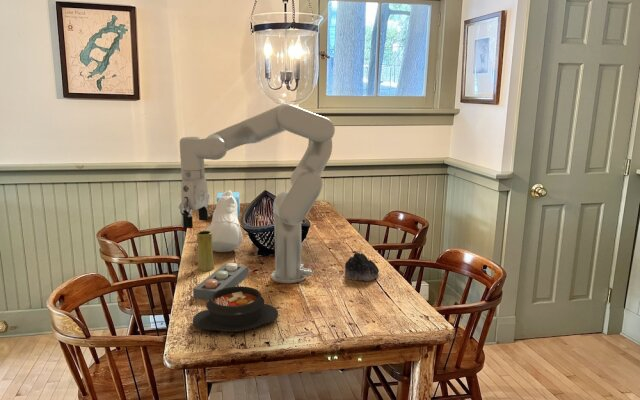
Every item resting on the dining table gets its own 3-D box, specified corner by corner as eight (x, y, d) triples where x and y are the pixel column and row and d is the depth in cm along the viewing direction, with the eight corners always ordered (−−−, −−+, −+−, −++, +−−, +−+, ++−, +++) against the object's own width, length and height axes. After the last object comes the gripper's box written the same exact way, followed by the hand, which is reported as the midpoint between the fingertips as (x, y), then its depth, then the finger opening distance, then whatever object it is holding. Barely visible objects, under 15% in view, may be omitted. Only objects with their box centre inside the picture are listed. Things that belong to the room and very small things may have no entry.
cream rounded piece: (239, 270, 184) (239, 263, 183) (234, 274, 180) (234, 267, 179) (229, 269, 185) (228, 262, 184) (224, 273, 181) (224, 266, 180)
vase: (210, 272, 189) (208, 235, 185) (195, 270, 190) (193, 234, 186) (216, 266, 194) (215, 230, 191) (202, 265, 196) (200, 229, 192)
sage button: (229, 278, 176) (229, 271, 176) (224, 282, 173) (224, 275, 172) (219, 277, 177) (219, 270, 177) (214, 281, 174) (213, 274, 173)
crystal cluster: (371, 269, 194) (368, 244, 193) (386, 278, 182) (384, 252, 180) (338, 275, 191) (336, 250, 189) (352, 286, 178) (349, 259, 176)
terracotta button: (219, 287, 169) (219, 279, 168) (214, 291, 165) (213, 284, 164) (208, 285, 170) (208, 278, 169) (203, 290, 166) (202, 283, 165)
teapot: (219, 212, 273) (218, 187, 270) (240, 212, 275) (239, 187, 272) (217, 223, 252) (215, 196, 249) (239, 223, 254) (238, 196, 251)
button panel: (248, 275, 186) (247, 266, 185) (218, 301, 163) (218, 291, 162) (225, 272, 188) (225, 263, 187) (193, 298, 165) (193, 288, 165)
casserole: (193, 343, 138) (192, 314, 136) (192, 313, 155) (190, 287, 153) (284, 331, 144) (283, 304, 142) (272, 304, 162) (272, 279, 160)
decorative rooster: (243, 244, 200) (249, 188, 211) (203, 239, 196) (210, 182, 207) (235, 263, 222) (241, 211, 232) (199, 258, 218) (206, 206, 229)
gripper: (188, 179, 159) (192, 232, 163) (216, 170, 175) (218, 218, 179) (168, 178, 161) (171, 230, 165) (196, 169, 177) (199, 216, 181)
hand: (196, 223), depth 172 cm, fingers open, 9 cm apart
